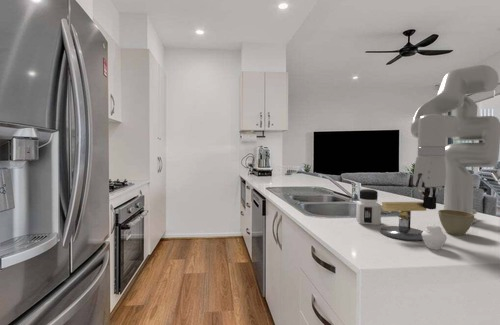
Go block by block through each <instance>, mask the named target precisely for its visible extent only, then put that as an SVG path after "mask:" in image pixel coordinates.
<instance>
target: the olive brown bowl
mask: <svg viewBox="0 0 500 325" xmlns="http://www.w3.org/2000/svg"><path fill="white" fill-rule="evenodd" d="M437 214H438V218H439V221H440V223H441V226H442V229H443V230H445V232H446V233H447V234H450V235H453V236H464V235H466V233H467V232H468V231H469V229H470V228H471V227H472V224H473V223H472V222H473V220H474V218H475V214H472V213H469V212H464V211H458V210H444V209H438V212H437Z"/></svg>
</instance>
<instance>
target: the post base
mask: <svg viewBox="0 0 500 325" xmlns="http://www.w3.org/2000/svg"><path fill="white" fill-rule="evenodd" d="M411 213H412V211H408V215H410V217H408V218H401V217H398V225H387V226H382V227H381V228H380V233H381V234H382V235H383V236H386V237H388V238H391V239H395V240H401V241H406V242H408V241H410V242H422V241H423V239H422V238H423V237H422V232H423V231H424V230H421V229H419V228H414V227H411V218H412V216H411V215H412V214H411ZM423 242H424V241H423Z"/></svg>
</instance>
